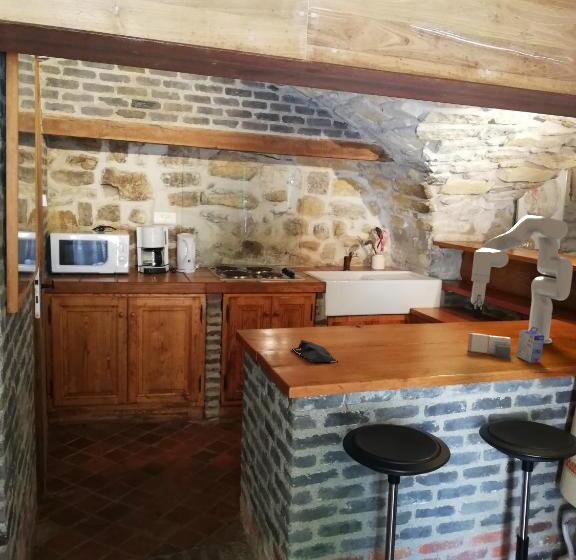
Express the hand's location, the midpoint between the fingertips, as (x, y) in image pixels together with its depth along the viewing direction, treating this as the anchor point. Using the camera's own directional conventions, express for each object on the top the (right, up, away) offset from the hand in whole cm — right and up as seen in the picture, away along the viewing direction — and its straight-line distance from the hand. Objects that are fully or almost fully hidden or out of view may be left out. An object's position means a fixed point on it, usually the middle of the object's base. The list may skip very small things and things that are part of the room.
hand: (476, 315), depth 252 cm
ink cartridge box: (+21, -19, -5) cm, 29 cm away
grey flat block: (+1, -16, +3) cm, 17 cm away
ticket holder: (+10, -17, 0) cm, 20 cm away
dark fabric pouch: (-73, -17, -13) cm, 76 cm away
